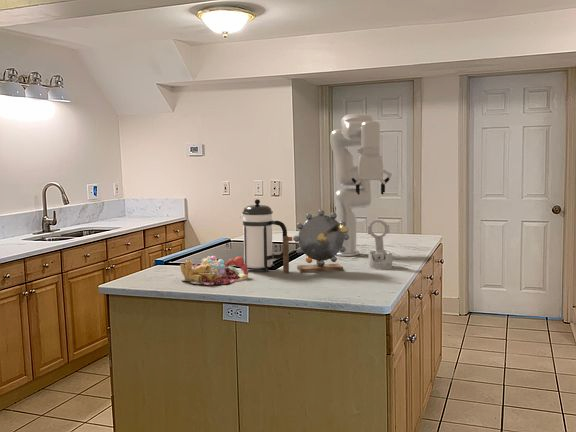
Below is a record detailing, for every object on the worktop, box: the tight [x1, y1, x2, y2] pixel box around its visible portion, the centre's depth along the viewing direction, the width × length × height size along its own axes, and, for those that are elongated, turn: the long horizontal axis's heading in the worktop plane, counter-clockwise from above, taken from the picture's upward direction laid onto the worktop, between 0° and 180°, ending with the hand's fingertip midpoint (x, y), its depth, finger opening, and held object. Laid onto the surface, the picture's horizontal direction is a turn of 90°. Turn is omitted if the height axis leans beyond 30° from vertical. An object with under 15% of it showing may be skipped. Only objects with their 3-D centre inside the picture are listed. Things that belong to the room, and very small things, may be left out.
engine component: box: [366, 218, 393, 270], centre depth 255 cm, size 11×20×10 cm
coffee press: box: [239, 198, 288, 273], centre depth 252 cm, size 17×16×30 cm
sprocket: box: [292, 209, 349, 266], centre depth 243 cm, size 23×11×23 cm, turn 101°
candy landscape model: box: [179, 255, 249, 286], centre depth 236 cm, size 25×24×9 cm
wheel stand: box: [282, 235, 344, 274], centre depth 250 cm, size 25×8×15 cm, turn 101°
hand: (370, 194), depth 244 cm, fingers open, 9 cm apart
